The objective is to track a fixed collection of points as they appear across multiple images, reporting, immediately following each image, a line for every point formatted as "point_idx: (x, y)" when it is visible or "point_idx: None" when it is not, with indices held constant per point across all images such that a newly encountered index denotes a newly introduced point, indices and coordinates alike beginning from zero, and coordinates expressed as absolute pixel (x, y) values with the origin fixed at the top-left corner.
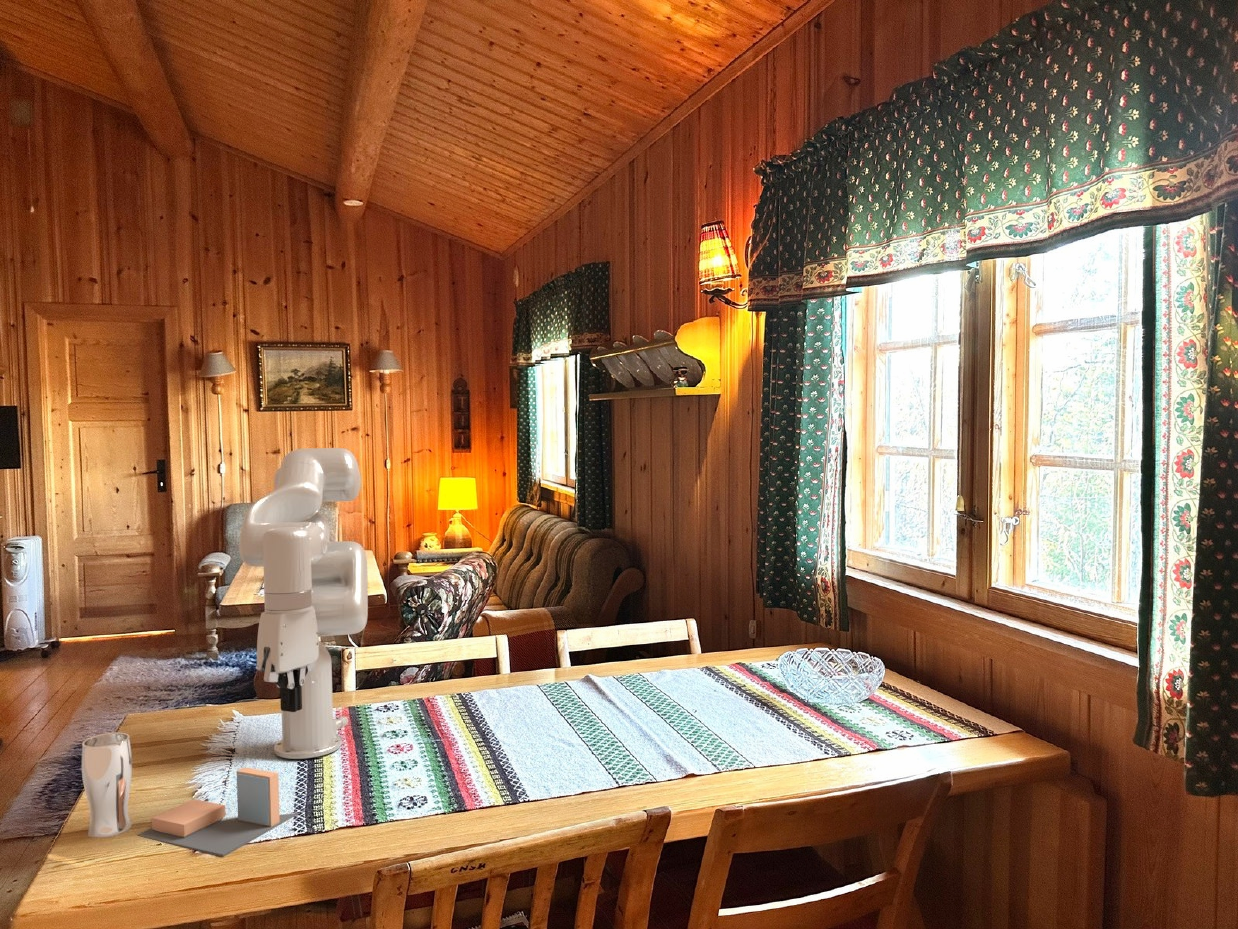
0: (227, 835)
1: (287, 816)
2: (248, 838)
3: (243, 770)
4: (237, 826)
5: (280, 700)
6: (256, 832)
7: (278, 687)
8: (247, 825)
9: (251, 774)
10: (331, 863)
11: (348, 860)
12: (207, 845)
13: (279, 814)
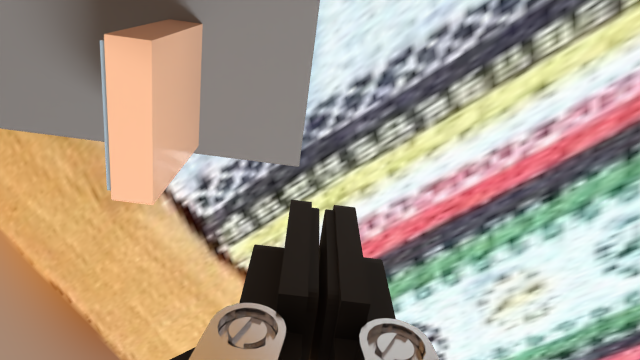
0: (78, 61)
1: (235, 143)
2: (89, 129)
3: (119, 60)
4: None
5: (287, 228)
6: None
7: (230, 312)
8: None
9: (109, 113)
10: (112, 329)
11: (135, 349)
12: (9, 50)
13: (192, 153)
